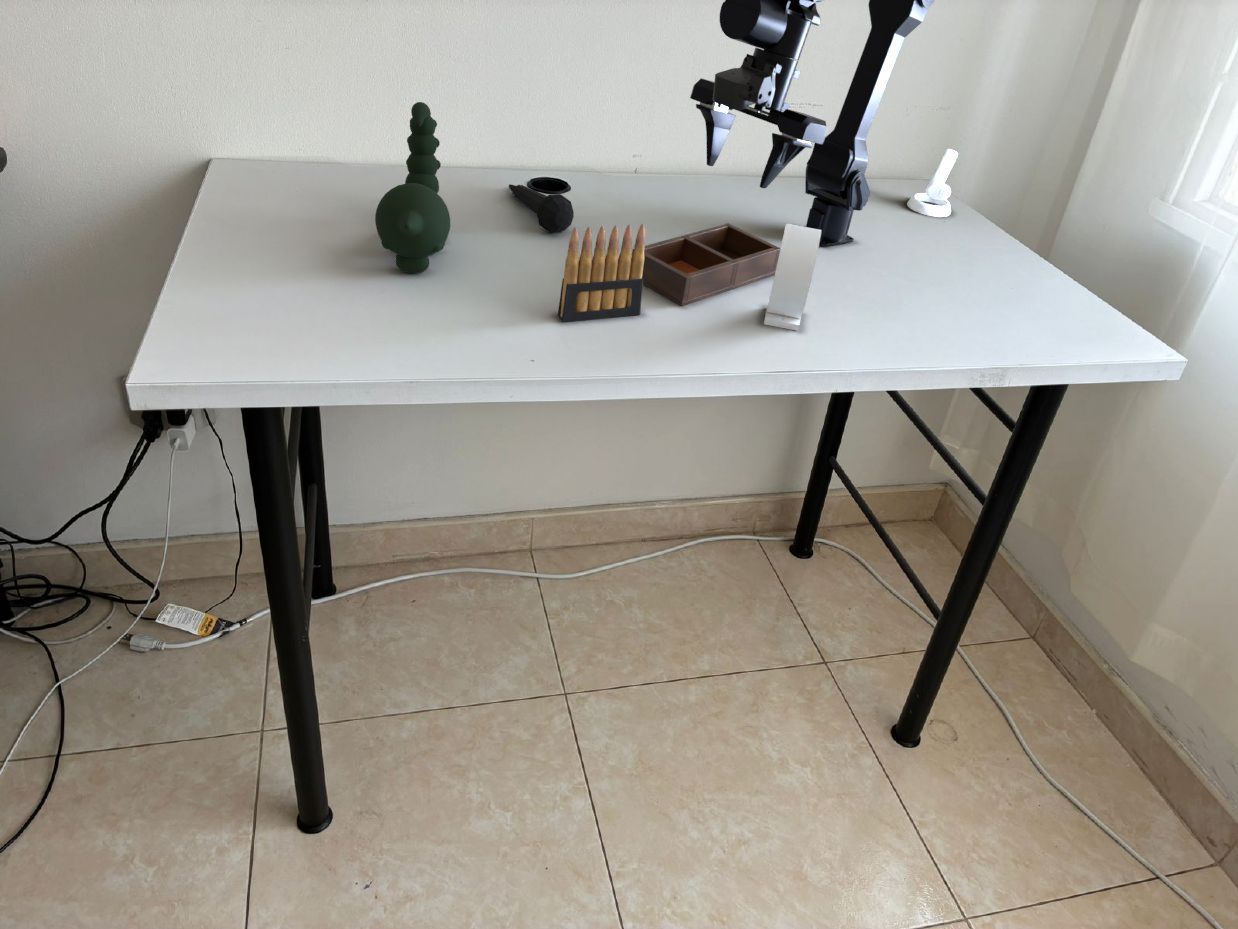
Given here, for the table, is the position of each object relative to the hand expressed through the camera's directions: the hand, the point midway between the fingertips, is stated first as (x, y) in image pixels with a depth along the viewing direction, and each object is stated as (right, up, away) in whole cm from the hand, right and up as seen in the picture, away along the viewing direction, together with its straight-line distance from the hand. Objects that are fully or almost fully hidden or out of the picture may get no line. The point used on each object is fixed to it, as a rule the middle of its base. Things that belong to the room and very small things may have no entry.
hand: (735, 176), depth 126 cm
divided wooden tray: (-4, -12, +8) cm, 14 cm away
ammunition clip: (-18, -20, -6) cm, 27 cm away
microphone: (-28, 0, +20) cm, 34 cm away
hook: (+39, +7, +42) cm, 58 cm away
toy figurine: (-43, -9, +4) cm, 44 cm away
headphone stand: (+6, -20, -1) cm, 20 cm away
